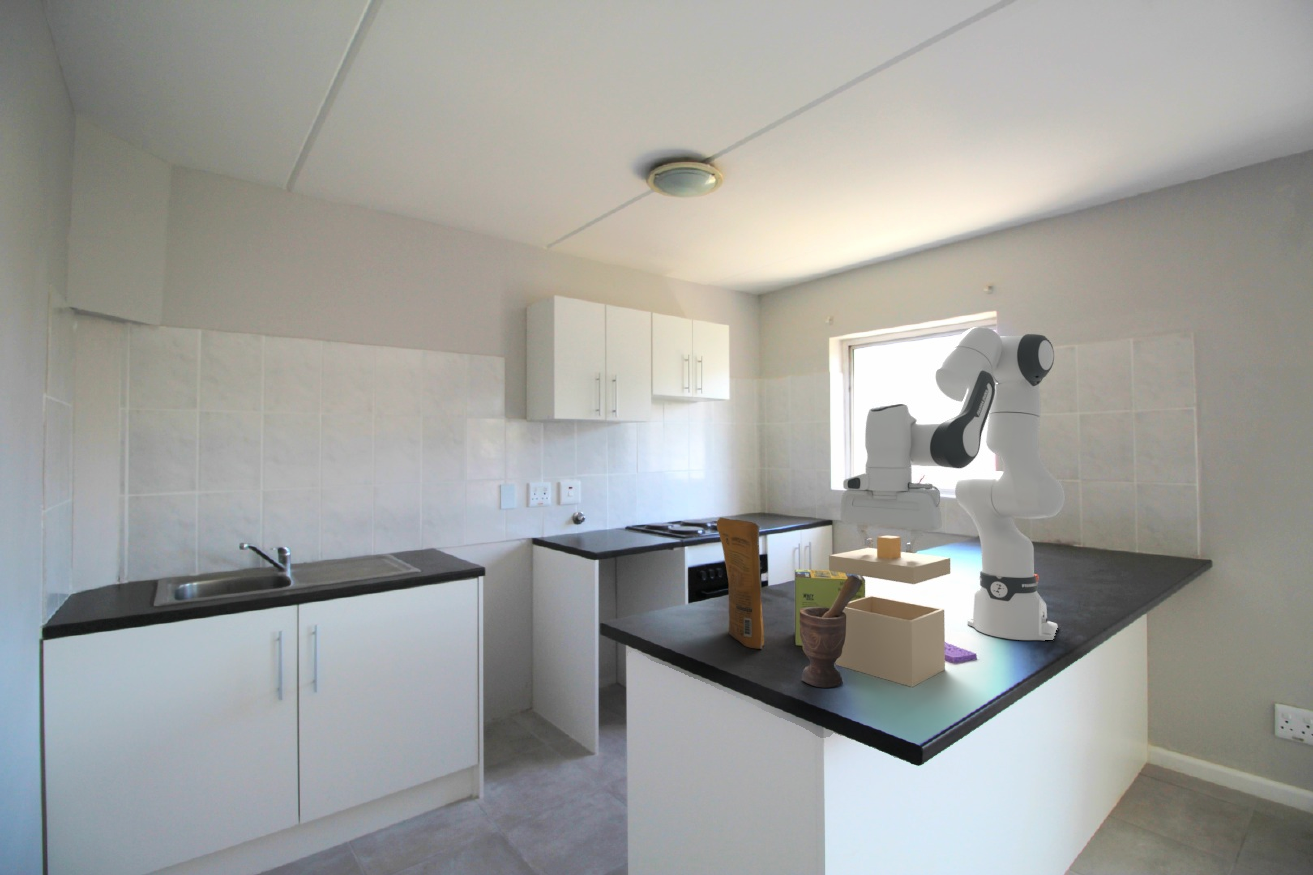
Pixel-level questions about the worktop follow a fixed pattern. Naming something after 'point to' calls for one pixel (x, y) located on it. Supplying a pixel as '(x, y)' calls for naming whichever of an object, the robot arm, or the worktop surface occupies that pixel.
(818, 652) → the mortar and pestle
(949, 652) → the sponges
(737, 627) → the pancake mix bag
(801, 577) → the protein box
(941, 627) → the carton
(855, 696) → the worktop surface
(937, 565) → the carton lid
